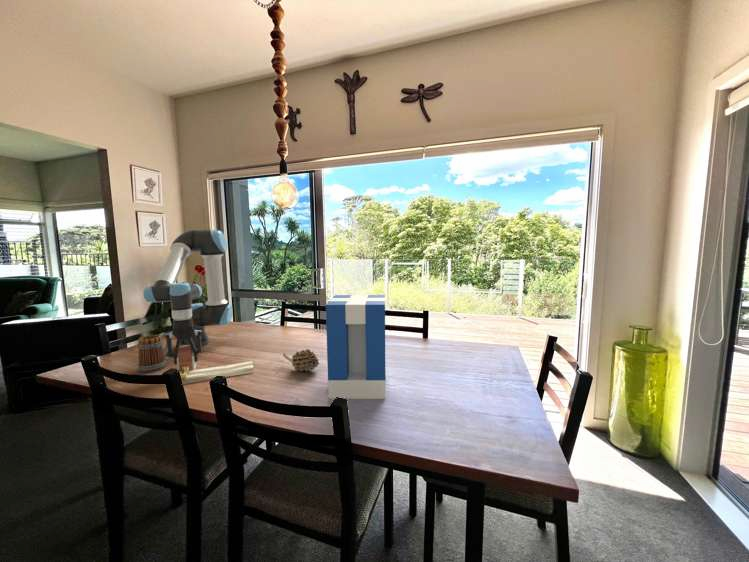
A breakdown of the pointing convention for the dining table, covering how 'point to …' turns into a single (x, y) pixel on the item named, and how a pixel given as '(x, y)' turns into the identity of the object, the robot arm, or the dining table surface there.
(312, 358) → the pine cone
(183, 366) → the block
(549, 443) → the dining table surface
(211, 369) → the board
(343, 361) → the toy block
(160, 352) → the mug
